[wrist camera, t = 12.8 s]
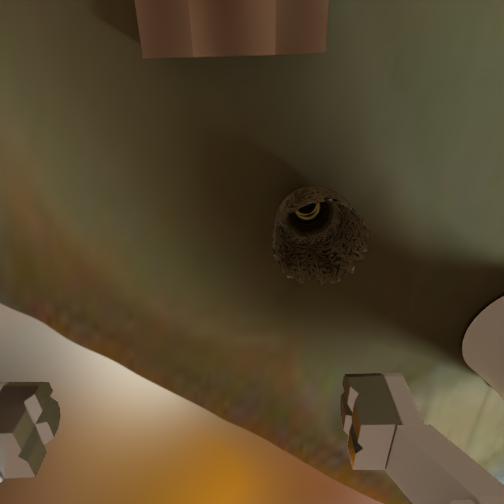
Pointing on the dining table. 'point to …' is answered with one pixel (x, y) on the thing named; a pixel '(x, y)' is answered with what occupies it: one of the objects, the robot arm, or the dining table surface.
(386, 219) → the dining table surface
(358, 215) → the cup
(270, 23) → the socket block
